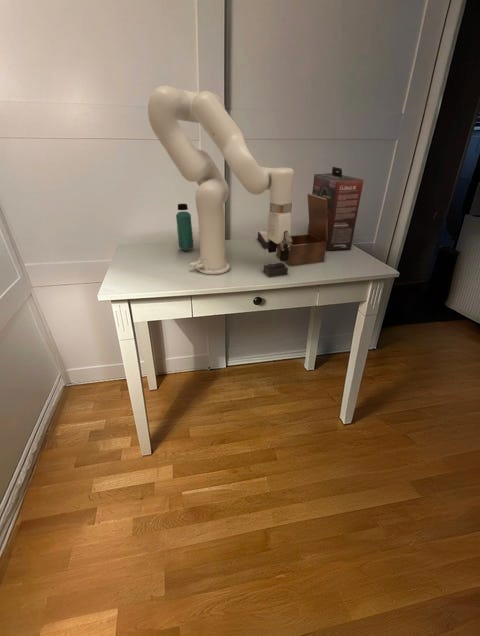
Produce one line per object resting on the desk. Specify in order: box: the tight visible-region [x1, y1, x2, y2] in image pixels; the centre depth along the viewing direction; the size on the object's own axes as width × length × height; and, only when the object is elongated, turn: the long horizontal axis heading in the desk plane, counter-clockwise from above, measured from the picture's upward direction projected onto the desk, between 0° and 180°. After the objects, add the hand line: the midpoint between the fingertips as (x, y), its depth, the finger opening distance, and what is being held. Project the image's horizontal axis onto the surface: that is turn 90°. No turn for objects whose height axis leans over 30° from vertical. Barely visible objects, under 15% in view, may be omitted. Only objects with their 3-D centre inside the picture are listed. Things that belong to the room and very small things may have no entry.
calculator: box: [257, 230, 278, 249], centre depth 149 cm, size 11×4×15 cm
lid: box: [307, 193, 333, 241], centre depth 126 cm, size 16×13×6 cm
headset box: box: [307, 166, 365, 251], centre depth 143 cm, size 25×12×33 cm, turn 12°
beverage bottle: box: [175, 203, 194, 251], centre depth 134 cm, size 6×7×20 cm
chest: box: [276, 233, 327, 267], centre depth 130 cm, size 16×13×8 cm
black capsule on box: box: [262, 261, 289, 278], centre depth 117 cm, size 8×5×4 cm
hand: (277, 256), depth 115 cm, fingers open, 9 cm apart
